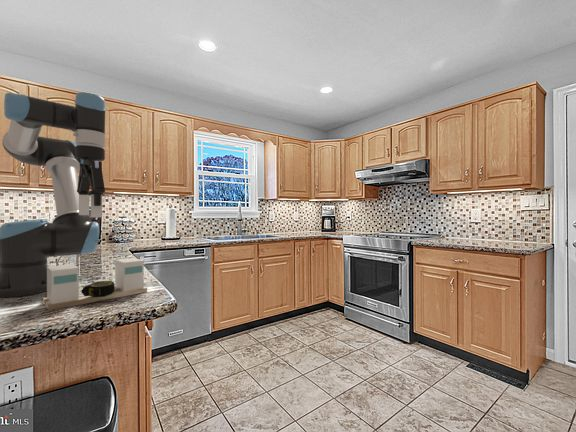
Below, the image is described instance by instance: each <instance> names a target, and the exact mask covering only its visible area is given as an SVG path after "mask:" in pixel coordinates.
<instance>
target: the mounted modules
mask: <svg viewBox="0 0 576 432" xmlns="http://www.w3.org/2000/svg"><path fill="white" fill-rule="evenodd" d="M114 261H115V262H114V264H115V265H114V267H115V268H114V269H115V270H114V273H115V275H114V285H115V287H116V288H117V287H118V288H120V289H121V291H123V292H124V291H130V290H135V289H141V288H144V287H145V286H144V283H145V280H144V279H145V278H144V275H145V274H144V261H145V260H143V259H140V258H136V257H133V258H131V257H130V258H122V259H121V258H119V259H115V260H114ZM79 271H80V269H79V267H78V266H77V265H75V264H73V263H72V264H71V263H70V264H64V265H63V264H61V265H52V266H48V267H47V291H46V297H47V299H49V300H50V303H51V304H56V303H61V302H67V301H73V300H78V299H79V292H80V288H79V287H80V285H79V283H80V279H79V276H80V273H79Z"/></svg>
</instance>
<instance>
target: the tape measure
mask: <svg viewBox="0 0 576 432" xmlns="http://www.w3.org/2000/svg"><path fill="white" fill-rule="evenodd" d="M114 290H115V281H113V280H112V281H111V280H104V281H103V280H102V281H101V280H100V281H96V282H93V283H91V284H87V285H84V286H83V287H82V289H81V291H80V292H81V293H83V295H84V296H91V297H105V296H108V295H110V294H112V293H113V292H114Z"/></svg>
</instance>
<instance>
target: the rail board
mask: <svg viewBox="0 0 576 432" xmlns="http://www.w3.org/2000/svg"><path fill="white" fill-rule="evenodd" d="M81 292H82V291H79V299H78V300H73V301H67V302H61V303H56V304H51V303H50V300H49V299H47V296H46V297H43V298H42V303H43V304H44V306H45V308H46V309H47V310H48V311H51V310H57V309H58V310H59V309H63V308H68V307H72V306H78V305H83V304H89V303H94V302H101V301H105V300H109V299H117V298H122V297H126V296H132V295H138V294H142V293H147V292H148V288H147V286H144V288H141V289H135V290H130V291H124V292H123V291H121V289H120V288H118V287H117V288H116V287H115V290H114V292H113V293H112V294H110V295H108V296H105V297H91V296H84V295H83V293H81Z"/></svg>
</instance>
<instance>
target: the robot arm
mask: <svg viewBox="0 0 576 432" xmlns="http://www.w3.org/2000/svg"><path fill="white" fill-rule="evenodd" d="M3 102H4V103H3V112H4V117H5V118H6V119H8V120H10V122H9V127H8V131H6V132H5V134H3V136H2V146H3V149H4V150H5V152H6V153H7V154H8V155H9V156H11V157H12V158H13V159H15V160H17V161H19V162H21V163H23V164H26V165H32V166H39V167H45V171H46V172H47V173H49V174H51V175H50V176H51V181H52V183H51V184H52V189H53V197H54V203H55V204H54V205H55V212H56V217H54V219H53V220H52V222H49V221H48V220H47V218H40V219H39V218H38V219H28V220H20V221H19V220H18V221H11V222H6V223H4V224H2V225H0V298H15V297H24V296H29V295H34V294H40V293H44V292H47V267H49V266H48V258H50V257H51V258H52V257H63V256H65V257H66V256H76V255H77V256H78V255H80V256H82V255H85V254H92V253H93V252H95V251H96V249H97V248H98V243H99V237H100V225H99V223H98V222H97V221H93V220H92V218H103V195H104V193H105V192H106V189H105V182H104V175H103V170H102V169H103V168H102V166H103V163H102V162H103V161H105V160H106V150H105V147H106V111H107V109H106V103H105V102H106V100H105V99H104V98H103V97H102V96H101V95H98V94H95V93H91V92H84V91H82V92H81V91H80V92H78V93H76V94H75V101H74V104H75V105H69V104H64V103H60V102H55V101H50V100H45V99H41V98H38V97H35V96H34V97H33V96H29V95H25V94H19V93H13V92H6V93H5V94H4V100H3ZM44 126H46V127H51V128H58V129H63V130H69V131H72V132H73V133H72V136H73V137H75V138H74V139H75V141H72V140H69V139H68V140H67V139H65V140H64V139H57V138H52V137H51V138H50V137H44V136H39V135H40V133H41V132H42V131H41V130H42V129H43V127H44ZM78 173H79V174H78Z"/></svg>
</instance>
